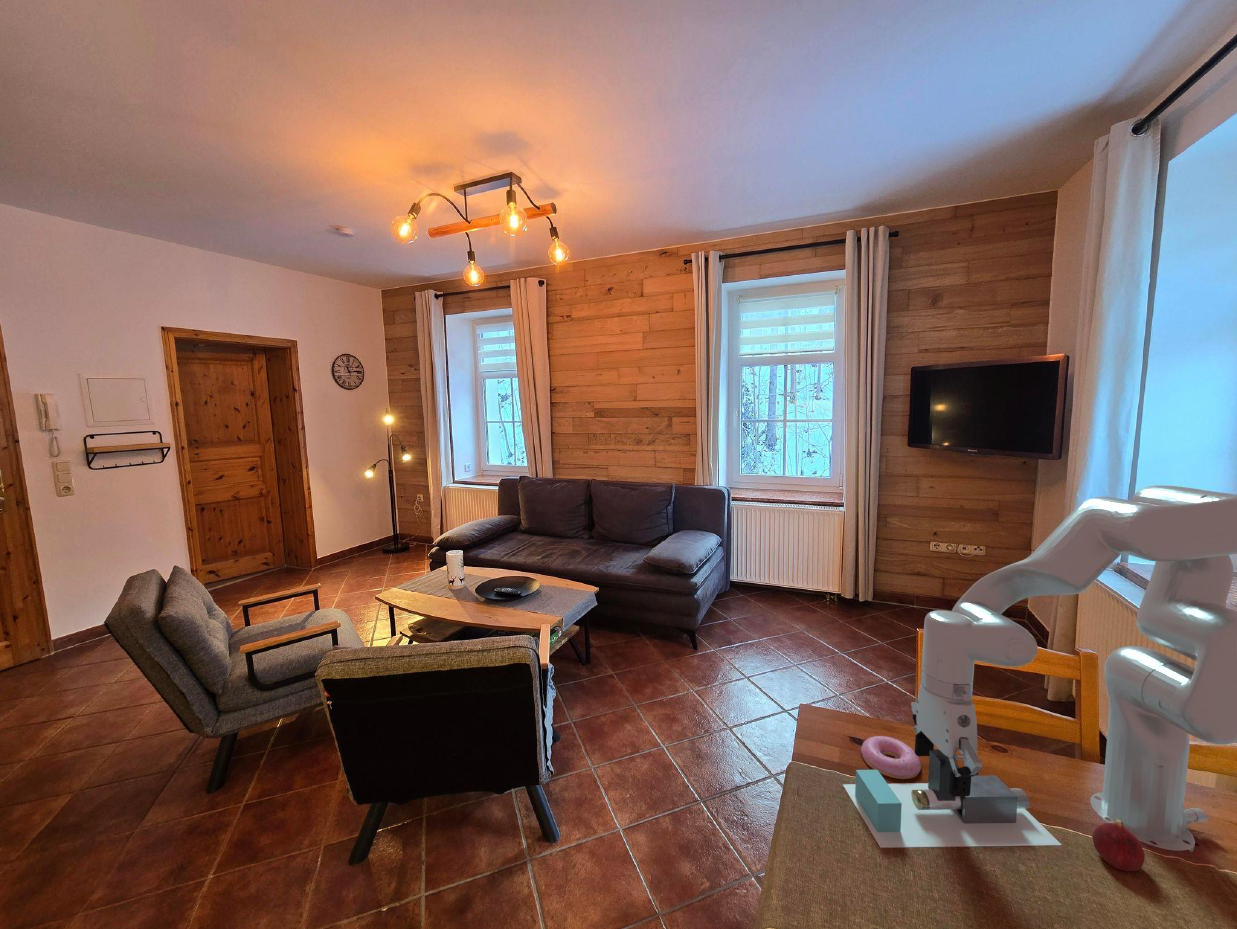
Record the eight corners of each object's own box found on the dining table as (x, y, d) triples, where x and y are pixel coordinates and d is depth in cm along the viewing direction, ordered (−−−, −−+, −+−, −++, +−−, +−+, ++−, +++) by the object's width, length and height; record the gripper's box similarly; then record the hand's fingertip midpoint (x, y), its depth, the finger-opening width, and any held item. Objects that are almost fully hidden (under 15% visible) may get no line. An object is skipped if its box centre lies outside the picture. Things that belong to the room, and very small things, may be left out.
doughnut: (866, 780, 98) (866, 760, 98) (856, 744, 108) (856, 727, 108) (928, 791, 95) (928, 771, 94) (912, 753, 105) (912, 735, 105)
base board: (997, 787, 95) (997, 782, 95) (1061, 851, 81) (1062, 845, 81) (842, 790, 95) (842, 784, 95) (880, 853, 81) (880, 847, 81)
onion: (1153, 888, 75) (1158, 840, 74) (1109, 881, 76) (1113, 834, 75) (1122, 854, 80) (1126, 809, 80) (1081, 849, 81) (1085, 804, 81)
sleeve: (994, 800, 90) (995, 775, 90) (1016, 822, 85) (1017, 796, 85) (945, 801, 91) (946, 776, 90) (964, 823, 86) (965, 797, 85)
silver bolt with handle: (1015, 799, 89) (1018, 748, 88) (1028, 812, 86) (1032, 759, 85) (911, 800, 90) (913, 749, 89) (921, 814, 87) (923, 761, 86)
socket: (876, 795, 92) (877, 769, 92) (900, 831, 84) (901, 803, 84) (855, 796, 92) (855, 770, 92) (877, 832, 84) (878, 803, 84)
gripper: (1006, 712, 77) (998, 813, 79) (936, 658, 94) (931, 742, 96) (958, 712, 77) (952, 813, 79) (897, 658, 94) (892, 742, 96)
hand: (940, 774), depth 87 cm, fingers open, 9 cm apart
